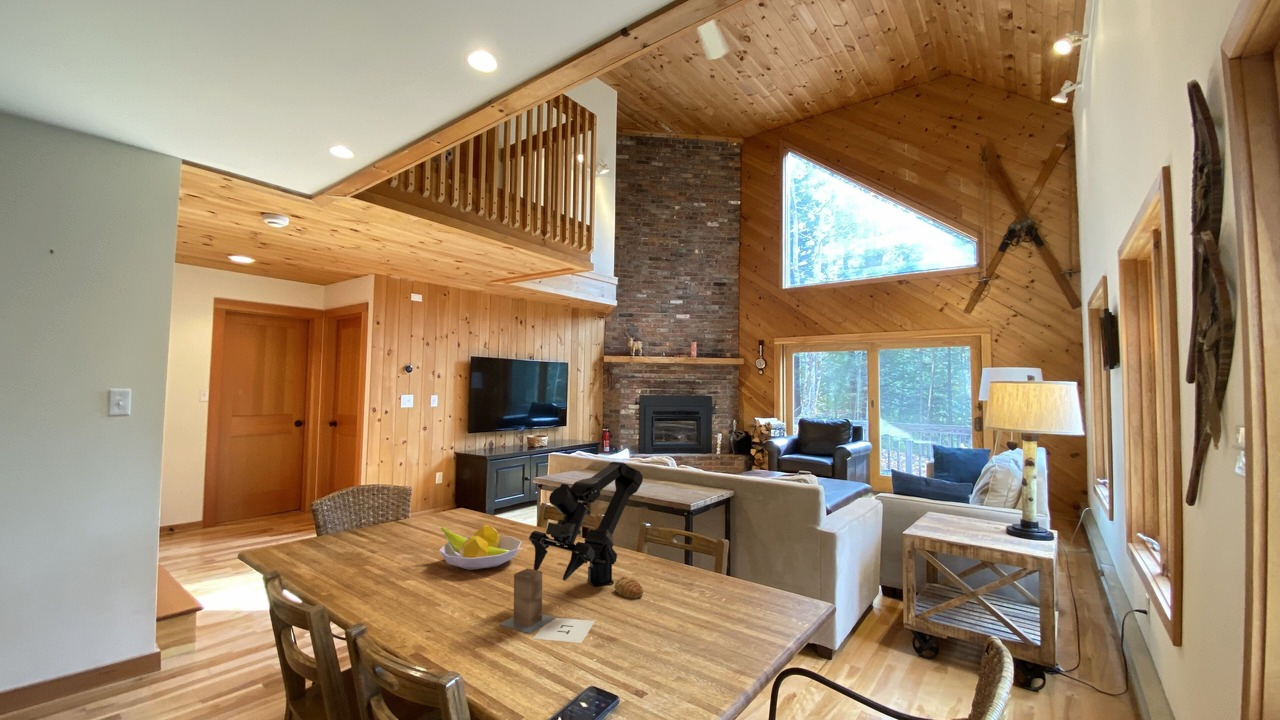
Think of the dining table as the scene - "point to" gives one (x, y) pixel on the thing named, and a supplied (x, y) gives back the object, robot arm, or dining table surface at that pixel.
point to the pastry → (628, 587)
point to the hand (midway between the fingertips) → (549, 575)
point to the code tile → (565, 630)
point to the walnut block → (527, 597)
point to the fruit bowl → (479, 549)
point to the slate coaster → (525, 629)
